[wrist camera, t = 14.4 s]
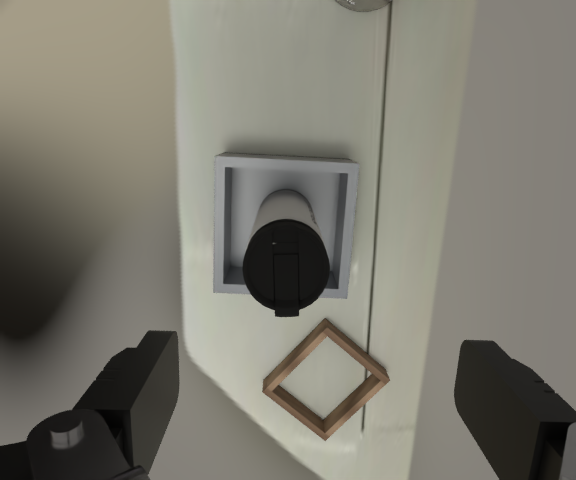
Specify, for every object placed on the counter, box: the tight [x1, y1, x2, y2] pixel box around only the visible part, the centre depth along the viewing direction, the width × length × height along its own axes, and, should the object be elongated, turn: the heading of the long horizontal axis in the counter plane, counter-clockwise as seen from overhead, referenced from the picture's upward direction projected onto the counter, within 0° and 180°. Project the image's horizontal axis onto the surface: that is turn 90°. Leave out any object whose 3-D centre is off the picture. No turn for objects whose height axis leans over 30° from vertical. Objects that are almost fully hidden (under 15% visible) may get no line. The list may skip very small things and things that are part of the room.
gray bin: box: [213, 153, 359, 299], centre depth 46 cm, size 14×14×7 cm
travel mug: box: [242, 189, 330, 317], centre depth 39 cm, size 6×7×20 cm
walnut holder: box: [262, 319, 390, 441], centre depth 54 cm, size 12×11×2 cm
